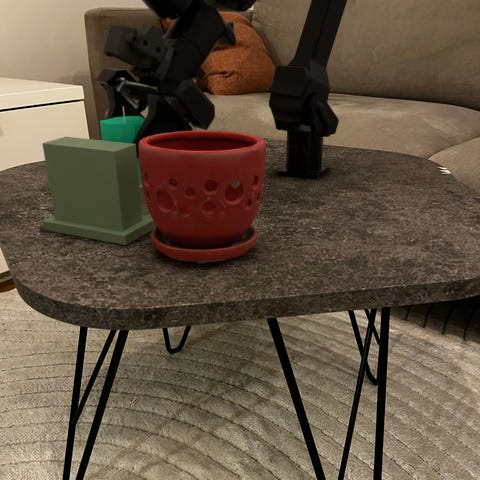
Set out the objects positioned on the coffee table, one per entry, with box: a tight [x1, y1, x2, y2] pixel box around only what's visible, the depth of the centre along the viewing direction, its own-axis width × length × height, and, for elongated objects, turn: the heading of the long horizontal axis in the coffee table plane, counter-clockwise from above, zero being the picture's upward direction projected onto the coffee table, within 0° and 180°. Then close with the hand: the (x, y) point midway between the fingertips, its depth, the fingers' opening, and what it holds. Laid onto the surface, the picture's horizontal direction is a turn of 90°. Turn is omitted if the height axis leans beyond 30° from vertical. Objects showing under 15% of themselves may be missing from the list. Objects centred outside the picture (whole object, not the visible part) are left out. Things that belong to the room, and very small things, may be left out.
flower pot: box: [139, 130, 267, 265], centre depth 63 cm, size 13×13×12 cm
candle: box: [99, 106, 146, 185], centre depth 73 cm, size 6×6×12 cm
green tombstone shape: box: [42, 136, 157, 246], centre depth 74 cm, size 18×12×10 cm, turn 154°
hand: (115, 153), depth 72 cm, fingers open, 6 cm apart
